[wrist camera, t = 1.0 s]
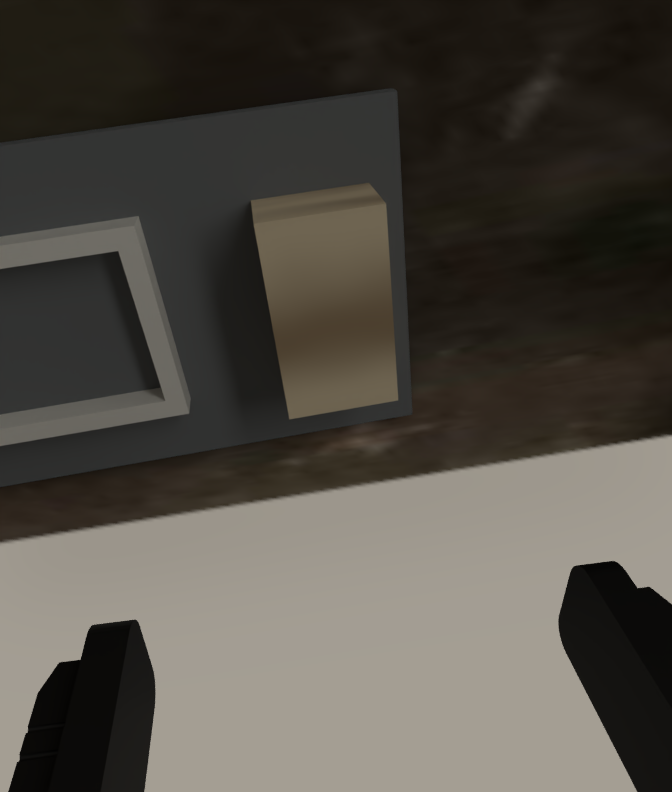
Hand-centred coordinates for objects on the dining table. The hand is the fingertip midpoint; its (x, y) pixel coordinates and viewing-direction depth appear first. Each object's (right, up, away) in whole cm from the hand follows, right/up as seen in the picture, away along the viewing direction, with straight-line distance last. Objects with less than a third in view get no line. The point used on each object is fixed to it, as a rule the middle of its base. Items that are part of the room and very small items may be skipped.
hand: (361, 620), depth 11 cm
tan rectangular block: (-1, +9, +14) cm, 16 cm away
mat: (-9, +8, +14) cm, 18 cm away
